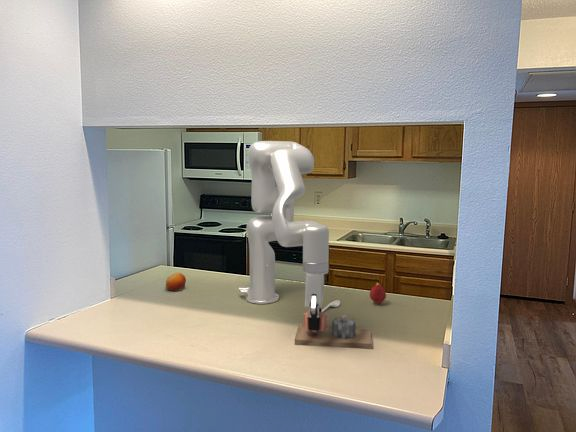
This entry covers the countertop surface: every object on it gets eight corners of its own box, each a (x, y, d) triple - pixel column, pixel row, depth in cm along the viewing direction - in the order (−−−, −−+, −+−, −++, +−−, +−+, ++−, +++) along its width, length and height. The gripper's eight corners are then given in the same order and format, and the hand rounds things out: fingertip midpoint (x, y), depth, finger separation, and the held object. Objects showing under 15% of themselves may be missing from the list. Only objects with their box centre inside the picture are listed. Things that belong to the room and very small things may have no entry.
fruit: (188, 289, 179) (177, 272, 178) (171, 299, 180) (160, 282, 179) (192, 283, 187) (182, 267, 186) (176, 292, 188) (166, 276, 187)
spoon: (343, 305, 166) (343, 300, 166) (314, 322, 149) (314, 317, 149) (333, 303, 168) (333, 299, 168) (303, 319, 151) (303, 315, 151)
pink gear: (302, 331, 132) (302, 318, 131) (304, 322, 139) (304, 310, 138) (326, 332, 131) (326, 319, 130) (327, 323, 138) (327, 311, 137)
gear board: (294, 344, 131) (294, 319, 130) (298, 329, 141) (298, 306, 140) (371, 348, 128) (372, 323, 127) (370, 333, 138) (370, 310, 137)
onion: (384, 301, 168) (385, 281, 167) (386, 307, 163) (387, 285, 162) (368, 301, 169) (369, 280, 168) (370, 306, 163) (370, 285, 162)
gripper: (305, 259, 141) (305, 314, 144) (299, 274, 124) (299, 336, 127) (329, 260, 140) (329, 315, 143) (327, 275, 123) (326, 337, 126)
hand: (315, 324), depth 135 cm, fingers closed on pink gear, 6 cm apart
